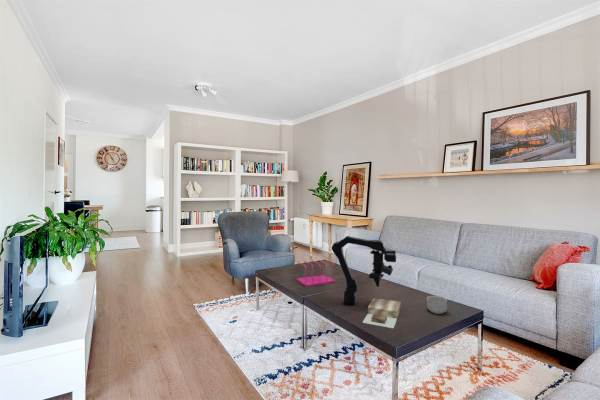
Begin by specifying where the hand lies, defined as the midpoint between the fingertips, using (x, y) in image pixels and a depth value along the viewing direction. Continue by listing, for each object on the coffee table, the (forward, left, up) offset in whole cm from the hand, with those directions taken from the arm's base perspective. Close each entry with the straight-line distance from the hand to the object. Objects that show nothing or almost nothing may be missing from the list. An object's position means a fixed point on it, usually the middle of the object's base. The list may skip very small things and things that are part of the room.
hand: (377, 286), depth 186 cm
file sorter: (-53, +30, -12) cm, 63 cm away
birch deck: (+5, -6, -12) cm, 14 cm away
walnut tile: (+5, -21, -9) cm, 24 cm away
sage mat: (+5, -21, -12) cm, 24 cm away
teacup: (+33, +7, -12) cm, 36 cm away
